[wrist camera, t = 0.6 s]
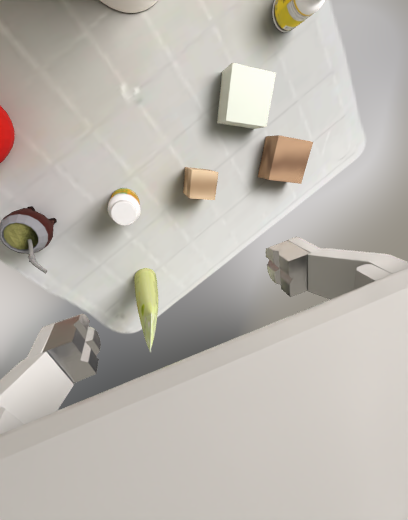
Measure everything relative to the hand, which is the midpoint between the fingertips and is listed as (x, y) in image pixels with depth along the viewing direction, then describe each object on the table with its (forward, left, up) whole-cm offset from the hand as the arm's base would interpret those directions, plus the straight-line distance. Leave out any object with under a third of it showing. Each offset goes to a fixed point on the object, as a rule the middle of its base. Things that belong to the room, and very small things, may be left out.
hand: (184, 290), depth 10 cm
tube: (+21, +1, -40) cm, 46 cm away
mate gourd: (+9, -18, -40) cm, 45 cm away
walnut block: (-7, +29, -40) cm, 50 cm away
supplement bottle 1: (+4, -3, -40) cm, 41 cm away
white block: (-16, +18, -40) cm, 47 cm away
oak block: (-1, +11, -40) cm, 42 cm away
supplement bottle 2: (-30, +24, -40) cm, 55 cm away
